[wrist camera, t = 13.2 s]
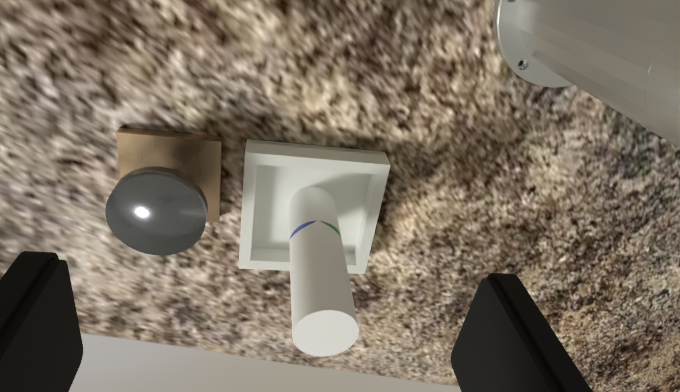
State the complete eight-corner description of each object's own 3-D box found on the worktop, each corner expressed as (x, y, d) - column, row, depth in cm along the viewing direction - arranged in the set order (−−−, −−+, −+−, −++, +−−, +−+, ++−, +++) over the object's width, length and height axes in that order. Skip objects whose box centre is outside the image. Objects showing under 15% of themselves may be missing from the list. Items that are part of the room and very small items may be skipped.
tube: (331, 226, 44) (353, 356, 31) (286, 224, 43) (289, 356, 30) (337, 187, 42) (363, 310, 29) (290, 185, 41) (295, 309, 28)
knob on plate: (222, 136, 38) (213, 175, 33) (220, 216, 43) (211, 262, 37) (119, 127, 37) (91, 166, 31) (127, 210, 41) (104, 257, 36)
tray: (384, 151, 41) (390, 165, 39) (360, 257, 47) (364, 273, 45) (246, 138, 39) (245, 152, 37) (240, 251, 45) (238, 268, 43)
